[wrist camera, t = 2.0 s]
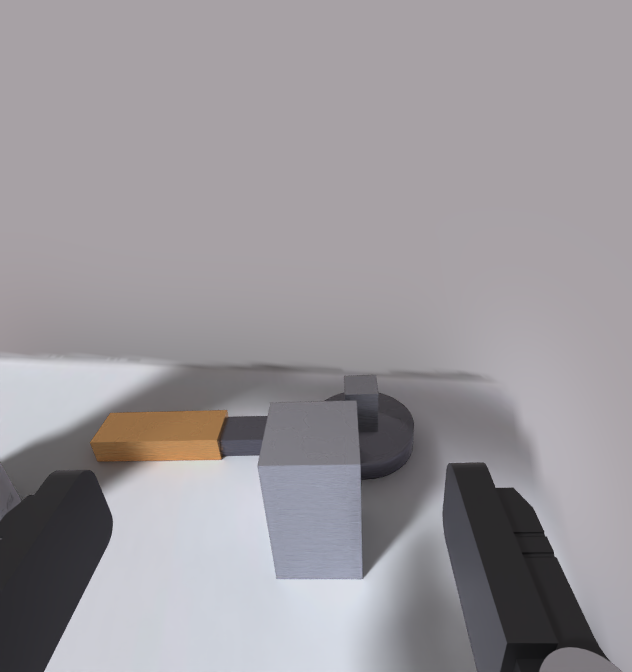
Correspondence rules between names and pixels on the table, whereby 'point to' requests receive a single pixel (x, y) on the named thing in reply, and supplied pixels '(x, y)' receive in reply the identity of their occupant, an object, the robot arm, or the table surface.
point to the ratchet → (254, 432)
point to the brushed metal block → (313, 489)
